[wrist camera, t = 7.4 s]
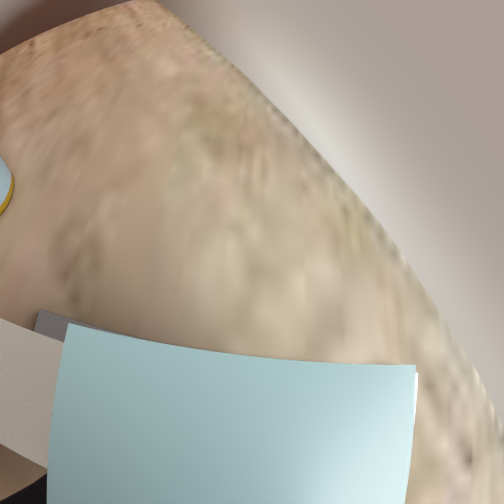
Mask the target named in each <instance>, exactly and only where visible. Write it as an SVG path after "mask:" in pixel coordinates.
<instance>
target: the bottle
mask: <svg viewBox="0 0 504 504" xmlns="http://www.w3.org/2000/svg"><path fill="white" fill-rule="evenodd" d="M13 187H14V178H13V176H12V174H11V172H10V170H9V169H8V167H7V166H6V164H5V163H4V161H3V159H2V158H1V156H0V216H1V215H2V213H3V212H4V211H5V209H6V208H7V206H8V204H9V202H10V200H11V196H12V192H13Z"/></svg>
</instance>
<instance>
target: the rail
mask: <svg viewBox="0 0 504 504" xmlns="http://www.w3.org/2000/svg"><path fill="white" fill-rule="evenodd" d="M68 323H71V324H75V325H79V326H83V327H87V328H91V329H95V330H99V331H104V332H108V333H113V334H117V335H122V336H127V337H132V338H137V339H142V338H138V337H134V336H130V335H126V334H122V333H119V332H115V331H111V330H107V329H104V328H100V327H97V326H93V325H90V324H86V323H83V322H80V321H76V320H73V319H70V318H67V317H63V316H60V315H57V314H54V313H51V312H48V311H45V310H42V309H40V310H39V314H38V317H37V321H36V324H35V328H34V331H31V330H28V329H26V328H23V327H21V326H18V325H16V324H14V323H11V322H9V321H6V320H4V319H2V318H0V444H2V445H3V446H5V447H7V448H8V449H10V450H12V451H14V452H15V453H17V454H19V455H21V456H23V457H24V458H26V459H28V460H30V461H32V462H34V463H36V464H38V465H40V466H42V467H44V468H46V469H47V468H48V451H49V438H50V428H51V419H52V411H53V403H54V396H55V389H56V383H57V377H58V371H59V366H60V360H61V355H62V350H63V346H64V341H65V336H66V332H67V327H68ZM142 340H146V339H142ZM147 341H150V340H147ZM152 342H155V341H152ZM158 343H159V342H158ZM417 383H418V373H416V384H415V408H416V397H417ZM414 418H415V412H414Z"/></svg>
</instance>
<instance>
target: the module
mask: <svg viewBox="0 0 504 504" xmlns="http://www.w3.org/2000/svg"><path fill="white" fill-rule="evenodd" d="M415 384H416V365H371V364H342V363H323V362H308V361H295V360H283V359H272V358H263V357H253V356H245V355H236V354H228V353H221V352H214V351H207V350H200V349H193V348H187V347H181V346H175V345H169V344H163V343H158V342H152V341H147V340H142V339H137V338H132V337H127V336H122V335H117V334H113V333H108V332H104V331H99V330H95V329H91V328H87V327H83V326H79V325H75V324H71V323H68V327H67V332H66V336H65V341H64V346H63V350H62V355H61V360H60V366H59V371H58V377H57V383H56V389H55V396H54V403H53V411H52V419H51V428H50V438H49V451H48V468H47V504H404V502H405V496H406V490H407V483H408V476H409V469H410V460H411V451H412V441H413V428H414V412H415Z"/></svg>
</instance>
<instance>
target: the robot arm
mask: <svg viewBox="0 0 504 504" xmlns="http://www.w3.org/2000/svg"><path fill="white" fill-rule="evenodd" d="M0 504H47V473H46V474H45V475H44V476H42V477H41V478H39V479H38V480H37V481H35V482H34V483H32V484H30V485H29V486H27V487H25V488H24V489H22V490H20V491H18V492H17V493H15V494H13V495H11V496H9V497H7V498H5V499H3V500H2V501H0Z"/></svg>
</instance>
